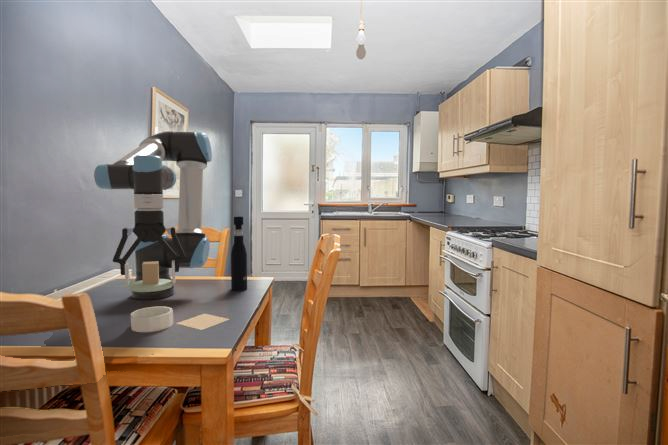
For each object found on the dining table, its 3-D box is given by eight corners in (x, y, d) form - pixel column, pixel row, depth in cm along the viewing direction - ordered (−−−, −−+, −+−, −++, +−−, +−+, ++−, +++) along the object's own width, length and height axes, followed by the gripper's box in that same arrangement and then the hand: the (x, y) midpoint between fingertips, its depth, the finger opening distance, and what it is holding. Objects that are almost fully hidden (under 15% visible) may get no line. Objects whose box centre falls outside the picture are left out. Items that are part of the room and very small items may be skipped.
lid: (125, 293, 106) (125, 267, 105) (131, 284, 117) (130, 260, 116) (172, 290, 110) (171, 265, 109) (173, 281, 121) (172, 258, 120)
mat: (175, 326, 116) (175, 323, 116) (204, 316, 126) (204, 313, 126) (201, 333, 111) (201, 330, 111) (229, 322, 120) (229, 319, 120)
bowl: (123, 330, 112) (122, 313, 112) (157, 320, 122) (156, 304, 121) (147, 338, 107) (147, 320, 107) (180, 326, 116) (180, 309, 116)
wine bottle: (232, 287, 164) (231, 216, 162) (248, 287, 165) (247, 216, 163) (230, 291, 158) (228, 217, 156) (246, 290, 159) (245, 217, 156)
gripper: (98, 210, 104) (101, 290, 106) (193, 209, 112) (194, 284, 114) (104, 209, 111) (106, 284, 113) (193, 209, 119) (194, 278, 121)
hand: (151, 284), depth 113 cm, fingers closed on lid, 11 cm apart
